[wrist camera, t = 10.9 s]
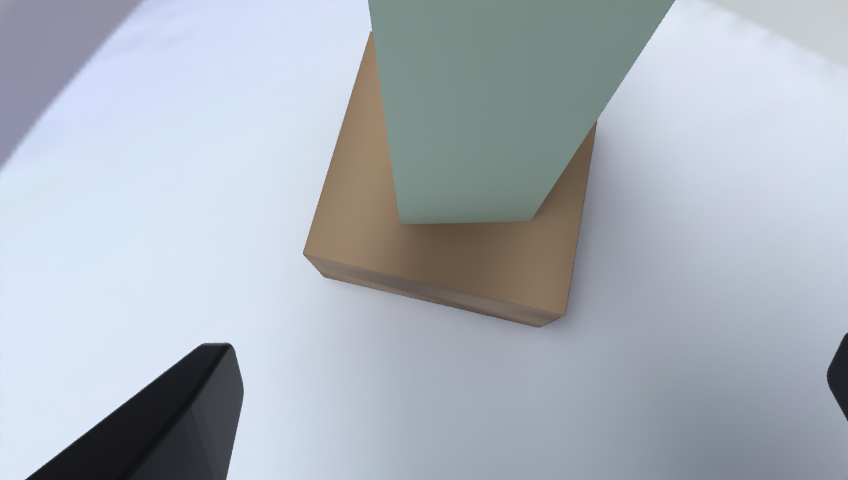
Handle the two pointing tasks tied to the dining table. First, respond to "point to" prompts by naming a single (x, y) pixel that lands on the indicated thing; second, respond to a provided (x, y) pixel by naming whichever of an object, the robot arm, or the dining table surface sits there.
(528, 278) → the walnut block
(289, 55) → the dining table surface
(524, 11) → the tall green block
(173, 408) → the robot arm
